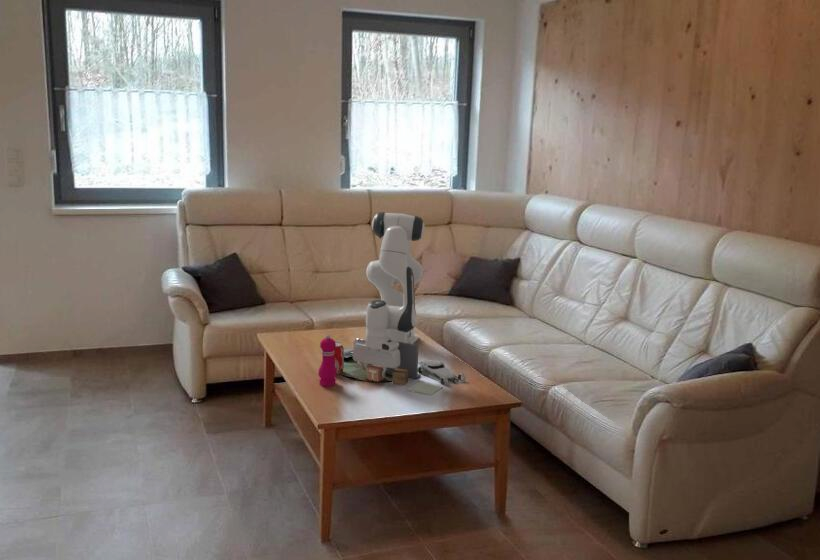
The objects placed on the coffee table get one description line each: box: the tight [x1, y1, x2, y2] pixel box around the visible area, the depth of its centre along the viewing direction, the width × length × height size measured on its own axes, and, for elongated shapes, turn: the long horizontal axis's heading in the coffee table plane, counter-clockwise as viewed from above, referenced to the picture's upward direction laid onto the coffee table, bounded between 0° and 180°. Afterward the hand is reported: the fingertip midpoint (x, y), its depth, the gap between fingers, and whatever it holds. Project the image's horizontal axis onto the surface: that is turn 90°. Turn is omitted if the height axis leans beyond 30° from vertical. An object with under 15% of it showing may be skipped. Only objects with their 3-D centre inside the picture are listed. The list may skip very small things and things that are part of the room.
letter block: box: [366, 364, 385, 383], centre depth 307 cm, size 5×5×5 cm
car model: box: [418, 359, 467, 387], centre depth 313 cm, size 11×24×5 cm, turn 34°
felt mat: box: [407, 381, 443, 396], centre depth 298 cm, size 10×10×1 cm
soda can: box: [333, 341, 345, 375], centre depth 313 cm, size 7×7×12 cm
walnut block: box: [391, 369, 409, 387], centre depth 303 cm, size 5×5×5 cm
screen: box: [386, 341, 422, 381], centre depth 313 cm, size 4×20×14 cm, turn 63°
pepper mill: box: [317, 334, 338, 387], centre depth 298 cm, size 7×7×20 cm
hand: (375, 374), depth 307 cm, fingers closed on letter block, 5 cm apart
